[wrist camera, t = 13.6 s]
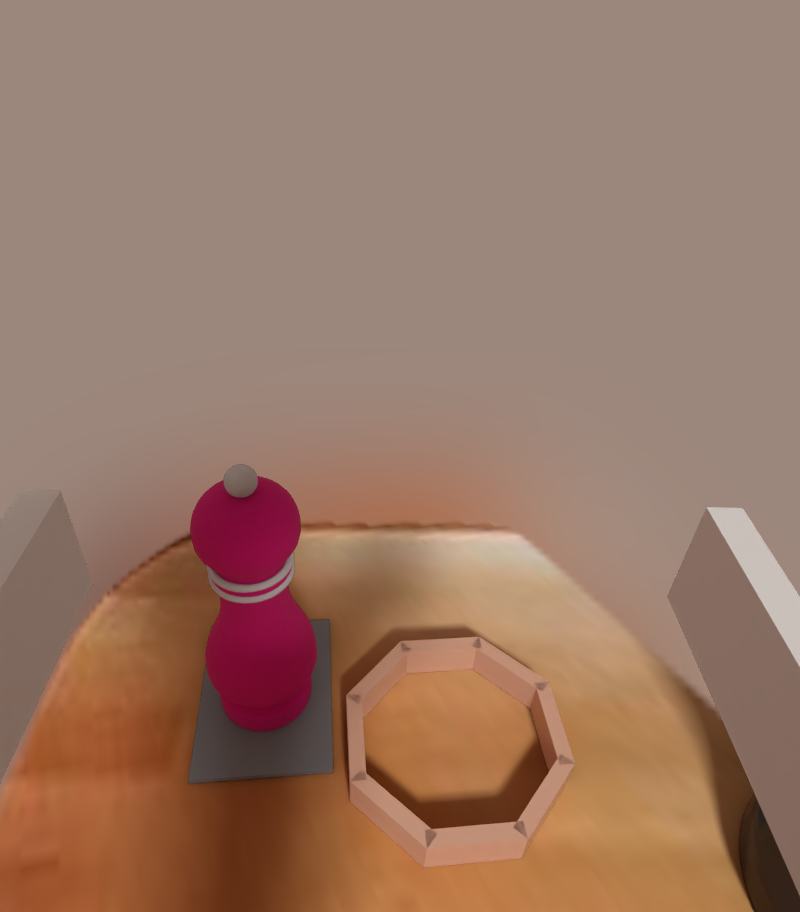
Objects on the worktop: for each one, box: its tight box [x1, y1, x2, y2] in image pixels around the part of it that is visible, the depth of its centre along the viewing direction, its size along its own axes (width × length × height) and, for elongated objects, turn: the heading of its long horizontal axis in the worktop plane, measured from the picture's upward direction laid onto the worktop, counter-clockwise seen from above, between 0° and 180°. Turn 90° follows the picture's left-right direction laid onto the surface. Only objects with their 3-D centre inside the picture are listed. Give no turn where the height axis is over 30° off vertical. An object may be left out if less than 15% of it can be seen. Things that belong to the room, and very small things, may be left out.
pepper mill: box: [190, 464, 317, 732], centre depth 40 cm, size 7×7×20 cm
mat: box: [188, 619, 333, 784], centre depth 46 cm, size 9×12×1 cm
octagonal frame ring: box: [346, 637, 575, 867], centre depth 43 cm, size 14×14×2 cm
